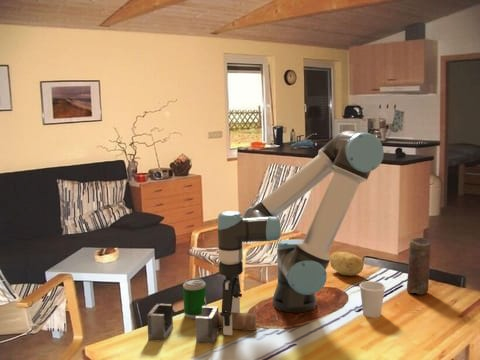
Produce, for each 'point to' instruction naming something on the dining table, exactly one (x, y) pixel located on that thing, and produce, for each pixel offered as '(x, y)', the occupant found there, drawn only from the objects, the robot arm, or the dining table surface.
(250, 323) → the brown wooden log
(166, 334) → the bracket
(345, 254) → the potato
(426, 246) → the candle
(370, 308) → the dixie cup
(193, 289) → the soda can
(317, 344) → the dining table surface
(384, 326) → the dining table surface
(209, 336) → the bracket
